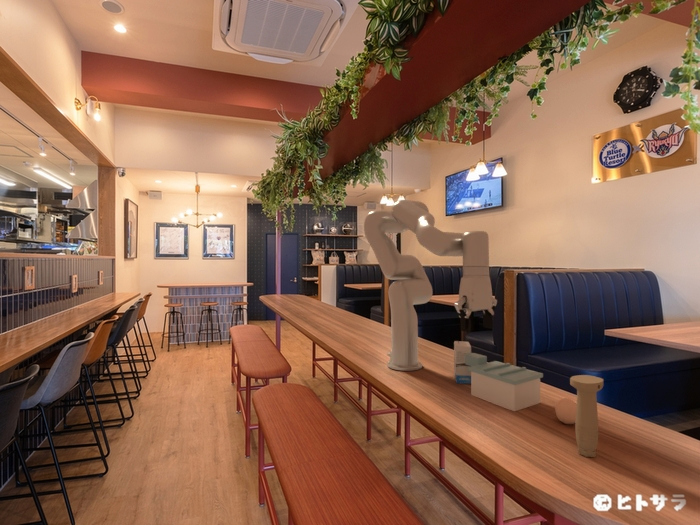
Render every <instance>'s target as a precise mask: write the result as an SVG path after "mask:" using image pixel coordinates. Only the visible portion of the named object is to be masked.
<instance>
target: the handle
mask: <svg viewBox="0 0 700 525" xmlns="http://www.w3.org/2000/svg"><path fill="white" fill-rule="evenodd" d="M569 384H570V386H572V387H573V388H574V389H576V404H577V406H576V420H575V423H574V425H575V426H574V427H575V440H576V444H577V453H578V454H579V455H581V456H583V457H585V458H595V457H596V455H597V448H598V443H599V442H598V441H599V416H598V399H597V393H598V392H600V391H601V390H602V389H603V387H604V378H602V377H598V376H594V375H589V374H581V375H580V374H579V375H572V376H570V378H569Z"/></svg>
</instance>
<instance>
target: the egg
mask: <svg viewBox="0 0 700 525" xmlns="http://www.w3.org/2000/svg"><path fill="white" fill-rule="evenodd" d="M576 406H577V402H575V401H574V400H572V399H571V398H568V397H565V398H561V399H560V400H559V401H558V402H557V403H556V405H555V415H556V417H557V419H559V421H561V422H562V423H563V424H566V425H572V424H573V425H575V420H576Z"/></svg>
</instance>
